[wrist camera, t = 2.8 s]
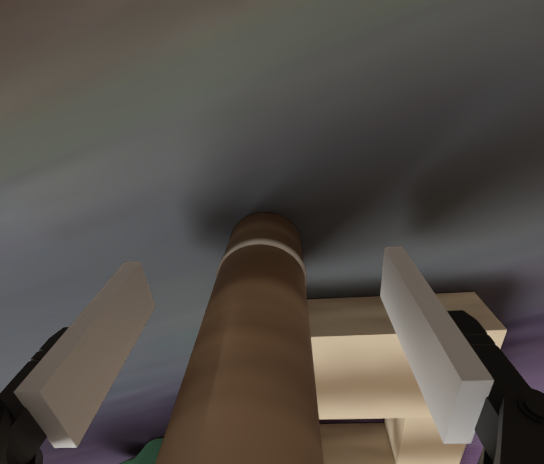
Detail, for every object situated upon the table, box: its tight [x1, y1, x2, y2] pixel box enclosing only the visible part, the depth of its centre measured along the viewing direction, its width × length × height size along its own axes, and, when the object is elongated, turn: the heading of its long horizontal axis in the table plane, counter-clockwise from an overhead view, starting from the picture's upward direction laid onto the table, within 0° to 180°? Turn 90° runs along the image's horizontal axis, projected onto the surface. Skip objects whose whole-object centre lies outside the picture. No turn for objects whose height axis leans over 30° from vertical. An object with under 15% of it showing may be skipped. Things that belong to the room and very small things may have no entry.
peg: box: [155, 212, 324, 464], centre depth 12 cm, size 4×4×12 cm
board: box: [307, 292, 507, 464], centre depth 22 cm, size 20×14×3 cm
